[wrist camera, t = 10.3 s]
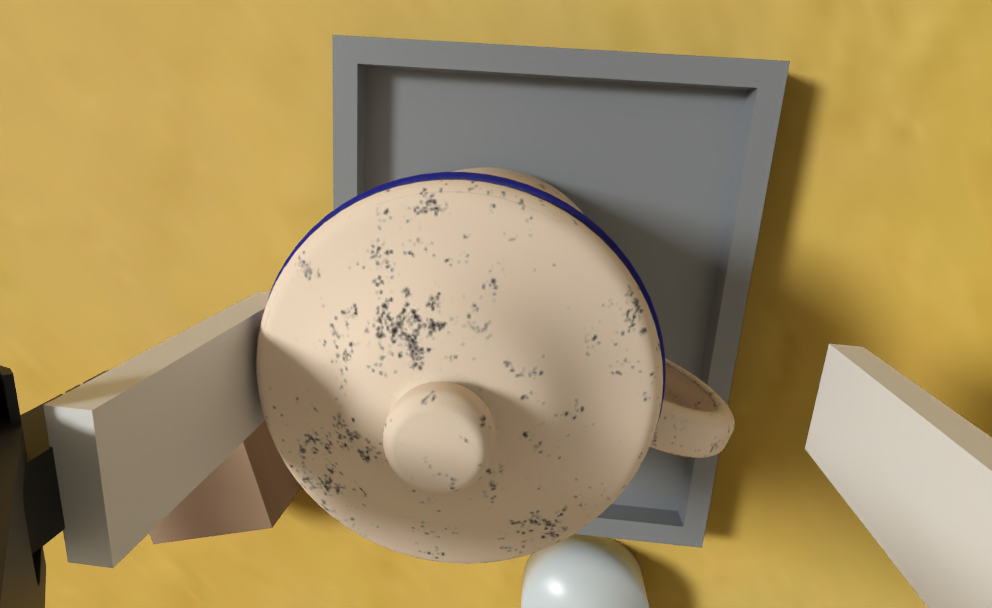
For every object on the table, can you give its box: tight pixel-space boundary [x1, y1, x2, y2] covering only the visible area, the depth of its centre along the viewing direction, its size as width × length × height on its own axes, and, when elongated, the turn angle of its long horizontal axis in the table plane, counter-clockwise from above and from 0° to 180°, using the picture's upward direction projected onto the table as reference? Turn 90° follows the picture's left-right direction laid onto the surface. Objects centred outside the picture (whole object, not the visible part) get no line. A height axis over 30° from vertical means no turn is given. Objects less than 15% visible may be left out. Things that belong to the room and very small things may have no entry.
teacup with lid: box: [256, 167, 735, 564], centre depth 16 cm, size 12×9×12 cm
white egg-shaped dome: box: [521, 534, 649, 608], centre depth 24 cm, size 5×5×2 cm
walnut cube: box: [149, 420, 302, 544], centre depth 23 cm, size 4×4×4 cm
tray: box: [333, 35, 790, 548], centre depth 22 cm, size 14×17×2 cm
